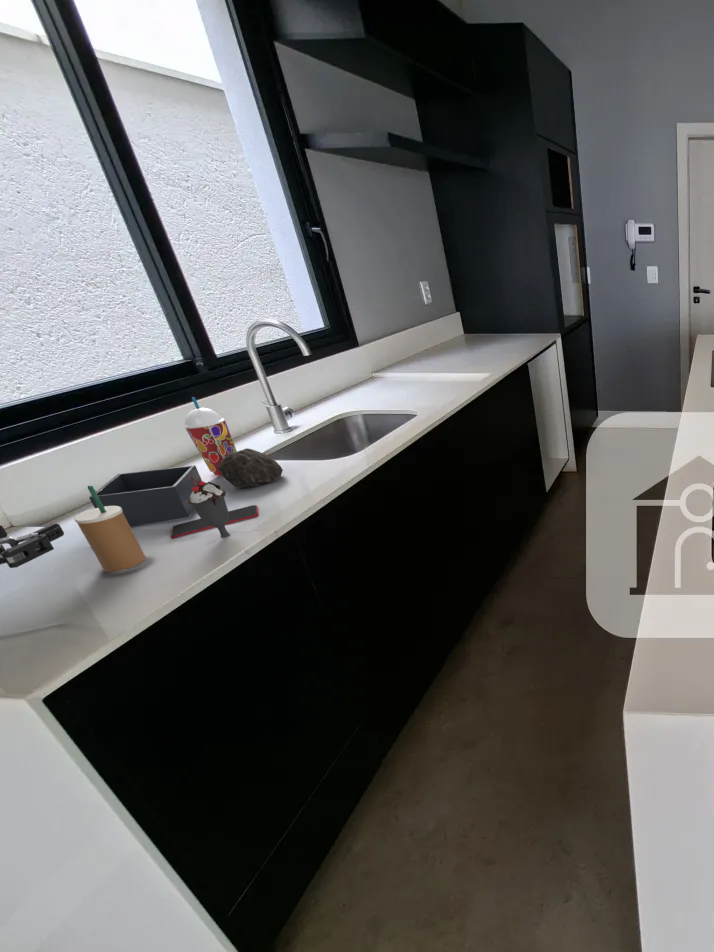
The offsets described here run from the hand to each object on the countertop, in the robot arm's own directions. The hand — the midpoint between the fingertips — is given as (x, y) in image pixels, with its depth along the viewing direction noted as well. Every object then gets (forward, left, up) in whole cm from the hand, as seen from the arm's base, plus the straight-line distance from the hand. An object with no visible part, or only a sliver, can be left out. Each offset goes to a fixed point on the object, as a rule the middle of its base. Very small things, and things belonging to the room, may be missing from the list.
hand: (30, 529), depth 90 cm
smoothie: (+9, +61, -14) cm, 63 cm away
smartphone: (+15, +25, -14) cm, 32 cm away
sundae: (+19, +15, -14) cm, 27 cm away
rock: (+18, +48, -14) cm, 53 cm away
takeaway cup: (+4, +11, -14) cm, 18 cm away
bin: (+1, +39, -14) cm, 41 cm away
